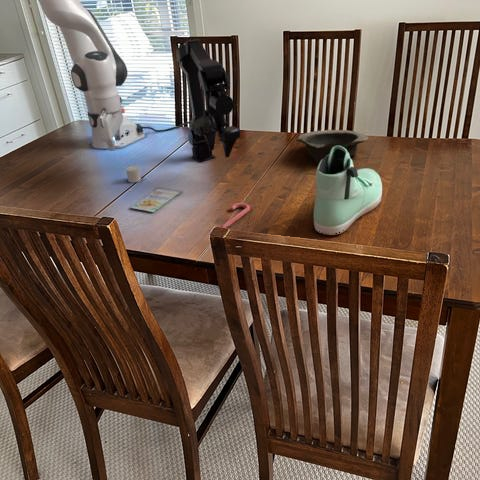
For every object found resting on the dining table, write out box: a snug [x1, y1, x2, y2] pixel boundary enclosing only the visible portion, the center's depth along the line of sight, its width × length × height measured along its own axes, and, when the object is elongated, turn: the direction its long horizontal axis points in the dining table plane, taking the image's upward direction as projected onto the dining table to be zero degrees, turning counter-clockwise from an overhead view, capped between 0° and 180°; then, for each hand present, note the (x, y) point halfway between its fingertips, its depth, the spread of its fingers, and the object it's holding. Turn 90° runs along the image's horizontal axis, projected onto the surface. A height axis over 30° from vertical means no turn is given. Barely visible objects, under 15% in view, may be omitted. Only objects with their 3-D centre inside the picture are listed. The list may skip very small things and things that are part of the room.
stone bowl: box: [296, 129, 369, 165], centre depth 171 cm, size 25×25×9 cm
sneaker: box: [313, 146, 383, 236], centre depth 133 cm, size 14×35×20 cm, turn 152°
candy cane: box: [220, 202, 251, 229], centre depth 139 cm, size 6×15×2 cm, turn 145°
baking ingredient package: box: [130, 188, 181, 213], centre depth 152 cm, size 9×1×15 cm
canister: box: [125, 165, 142, 183], centre depth 166 cm, size 4×4×4 cm
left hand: (115, 144), depth 165 cm, fingers open, 8 cm apart
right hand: (219, 153), depth 159 cm, fingers open, 9 cm apart
